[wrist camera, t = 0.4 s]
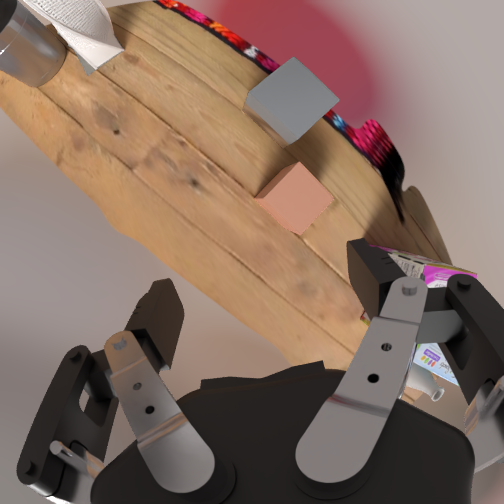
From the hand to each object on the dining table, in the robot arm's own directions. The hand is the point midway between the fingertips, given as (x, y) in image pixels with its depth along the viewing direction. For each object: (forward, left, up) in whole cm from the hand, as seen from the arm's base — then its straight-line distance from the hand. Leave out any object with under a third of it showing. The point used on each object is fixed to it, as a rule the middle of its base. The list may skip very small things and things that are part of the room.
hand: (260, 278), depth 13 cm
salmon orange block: (+3, +8, -27) cm, 29 cm away
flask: (+48, +4, -28) cm, 56 cm away
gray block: (-6, +17, -24) cm, 30 cm away
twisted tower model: (-35, +7, -28) cm, 45 cm away
